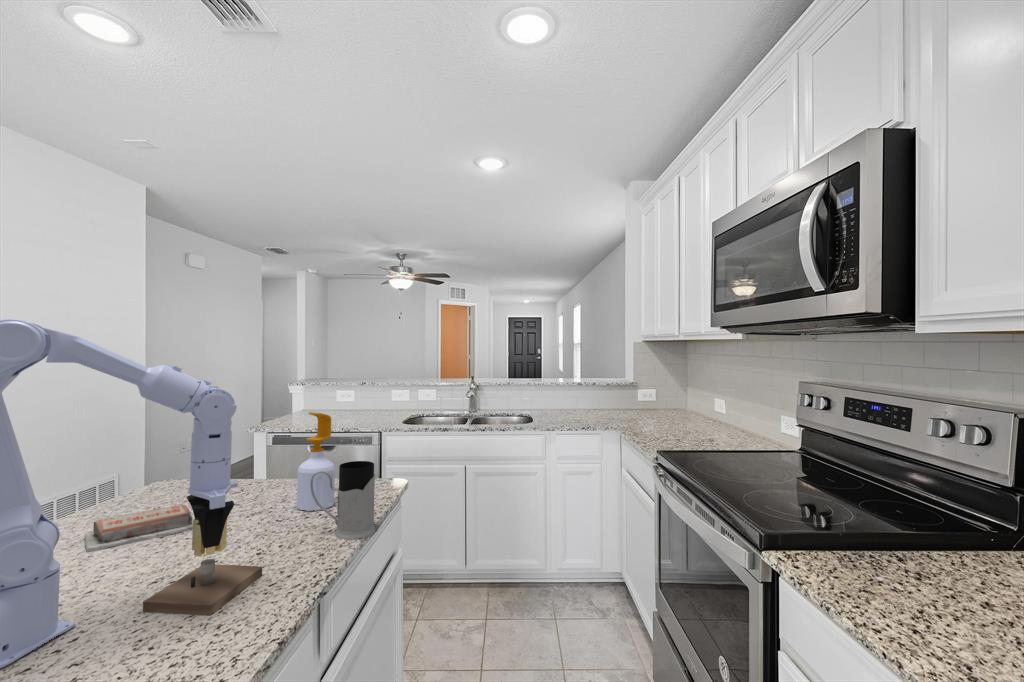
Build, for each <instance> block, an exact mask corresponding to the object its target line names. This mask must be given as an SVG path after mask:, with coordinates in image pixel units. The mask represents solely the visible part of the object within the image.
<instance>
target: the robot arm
mask: <svg viewBox="0 0 1024 682" xmlns="http://www.w3.org/2000/svg"><path fill="white" fill-rule="evenodd" d="M44 359H46V360H45V363H51V364H52V363H58V364H59V363H60V364H61V363H63V364H65V363H66V364H67V363H69V364H70V363H73V364H79V365H82V366H84V367H87V368H89V369H91V370H95V371H97V372H100V373H103V374H106V375H108V376H111V377H114V378H117V379H119V380H122V381H125V382H127V383H130V384H133V385H136V386H137V389H138V391H139V394H140V397H141V398H144V399H146V400H149V401H151V402H154V403H157V404H160V405H161V406H164V407H167V408H170V409H172V410H175V411H177V412H180V413H182V414H186V413H191V415H192V416H193V426H192V427H193V429H192V433H191V441H190V442H191V446H190V476H189V487H188V490H187V493H188V494H189V495H187V496H186V500H187V501H188V503H189V505H190V506H191V510H192V512H193V515H194V516H193V517H194V519H196V518H198V521H199V525H200V530H201V538H202V543H203V546H204V548H205V549H206V548H209V547H214V546H218V545H219V544H220V541H221V537H222V533H223V529H224V526H225V522H226V520H227V521H228V517H229V515H230V513H231V511H232V510H233V509H234V506H235V502H234V501H233V500H229V501H226V496H227V495H228V493H229V492H230V490H231V489H233V488H238V487H239V482H238V481H237V480H231V474H232V473H231V468H232V467H231V466H232V464H231V463H232V440H233V439H232V437H233V436H232V435H233V432H232V431H233V430H232V423H233V421H232V418H233V416H234V415H235V413H236V411H237V404H236V403H235V398H234V397H233V396H232V394H231V393H230V392H228V391H226V390H223V389H222V388H220V387H218V386H215V385H212V384H213V383H212V381H210V380H208V379H204V380H201V379H198V378H196V377H194V376H191V375H190V374H187V373H184V372H182V370H183V369H182V367H180V366H177V365H175V364H172V365H171V366H168V365H166V364H159V365H157V366H156V365H155V366H151V367H148V366H146V365H143V364H140V363H139V362H137V361H134V360H132V359H130V358H127V357H125V356H124V355H121V354H119V353H117V352H115V351H113V350H110V349H107V348H106V347H103V346H102V345H99V344H96V343H94V342H92V341H90V340H88V339H86V338H83V337H80V336H77V335H74V334H69V333H67V332H62V331H59V330H56V329H51V328H49V327H45V326H44V327H43V326H41V325H39V324H36V323H34V322H29V321H27V320H23V319H20V318H19V319H18V318H4V319H0V669H1V668H4V667H7V666H8V665H10V664H12V663H13V662H15V661H17V660H19V659H20V658H22V657H23V656H25V655H27V654H29V653H30V652H32V650H33V651H34V650H36V649H38V648H39V647H41V646H43V645H45V644H47V643H48V642H50V641H52V640H53V639H55V638H57V637H59V636H60V635H62V634H64V633H65V632H67V631H68V630H71V629H73V628H75V626H76V622H75V621H73V622H72V621H60V620H58V619H59V601H60V573H61V562H60V561H58V560H56V559H55V558H54V551H55V548H56V547H57V544H58V542H59V540H60V536H61V535H60V528H59V527H58V525H57V524H56V523H55V522H54V521H53V520H51V519H50V518H48V517H47V516H46V514H45V512H44V510H43V506H42V505H41V504H40V502H39V501H38V500H37V498H36V496H35V493H34V489H33V487H32V483H31V480H30V477H29V474H28V470H27V468H26V465H25V462H24V459H23V455H22V452H21V449H20V446H19V443H18V440H17V437H16V432H15V430H14V428H13V424H12V422H11V417H10V414H9V411H8V408H7V406H6V403H5V399H4V397H3V392H4V391H5V389H6V388H7V387H8V386H10V384H11V383H12V382H13V381H14V380H15V379H16V378H18V376H19V375H20V374H21V373H22V372H23V371H25V370H27V369H29V368H31V367H33V366H34V365H35V364H38V363H40V362H41V361H43V360H44ZM58 635H59V636H58ZM56 636H57V637H56ZM54 637H55V638H54ZM51 639H52V640H51ZM49 640H50V641H49ZM44 643H45V644H44ZM42 644H43V645H42ZM37 647H38V648H37Z"/></svg>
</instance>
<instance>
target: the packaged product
mask: <svg viewBox="0 0 1024 682" xmlns="http://www.w3.org/2000/svg"><path fill="white" fill-rule="evenodd" d="M192 529H193V515H192V511H191V510H190V509H189V508H188V506H187V505H186V504H179V505H173V506H168V507H163V508H156V509H151V510H150V509H149V510H145V511H140V512H134V513H128V514H120V515H115V516H110V517H104V518H99V519H97V520H95V521H94V522H93V531H92V530H91V531H87V532H85V533H84V542H85V543H84V546H85V550H86V552H87V553H91V552H92V553H93V552H97V551H102V550H104V549H105V548H106V549H110V548H113V546H114V547H119V546H124V545H129V544H134V542H135V543H139V541H140V542H143V541H149V540H154V539H158V537H159V538H162V537H161V536H163V537H166V536H165V535H167V536H171V534H172V535H175V533H176V534H181V533H185V532H184V531H186V532H188V531H187V530H191V531H192ZM180 532H181V533H180ZM153 538H154V539H153ZM109 547H110V548H109ZM101 549H102V550H101ZM96 550H97V551H96Z"/></svg>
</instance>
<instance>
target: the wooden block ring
mask: <svg viewBox="0 0 1024 682" xmlns="http://www.w3.org/2000/svg"><path fill="white" fill-rule="evenodd" d="M192 525H193V530H191V531H192V533H191V535H192V536H191V551H193V553H194V554H193V556H197V557H202V556H203V555H204V554H206V556H209V555H210V556H211V555H215V553H216V552H222V551H224V550H225V549H226V547H227V541H228V540H227V537H228V535H227V533H228V519H227V520H226V522H225V526H224V529H223V533H222V537H221V541H220V544H219V545H218V546H214V547H209V548H204V546H203V543H202V538H201V530H200V525H199V521H198V518H196V519H195V518H193V519H192Z"/></svg>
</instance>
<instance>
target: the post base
mask: <svg viewBox="0 0 1024 682" xmlns="http://www.w3.org/2000/svg"><path fill="white" fill-rule="evenodd" d="M261 576H263V566H259V565H258V566H255V565H235V564H216V559H215V558H208V559H204V560H202V561H201V562H200V566H199V567H197V568H196V569H194V570H192V571H190V572H188V573H187V574H185V575H184V576H183V577H181V578H179V579H177V580H176V581H174V582H172V583H171V584H169V585H167V586H166V587H165V588H162V589H161V590H159V591H158V592H156V593H155V594H153V595H151V596H150V597H148V598H146V599H145V600H143V601H142V612H147V613H165V614H166V613H167V614H179V615H181V614H184V615H198V616H199V615H201V616H212V615H213V614H214V613H216V612H217V611H218V610H219V609H221V608H222V607H223V606H225V605H226V604H227V603H229V602H230V600H232V599H233V598H235V597H236V596H237V595H238V594H240V593H242V592H243V590H245V589H246V588H247V587H249V586H250V585H251V584H253V583H254V582H255V581H256V580H258V579H259V578H261Z"/></svg>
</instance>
